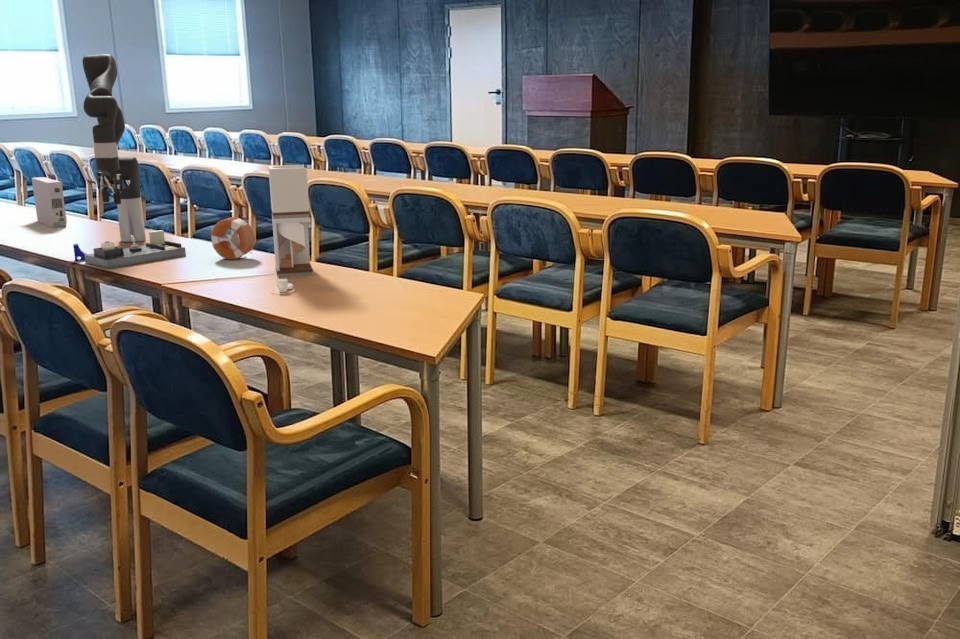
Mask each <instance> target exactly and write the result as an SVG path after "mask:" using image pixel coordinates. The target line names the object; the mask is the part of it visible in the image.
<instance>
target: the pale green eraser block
mask: <svg viewBox="0 0 960 639" xmlns="http://www.w3.org/2000/svg"><path fill="white" fill-rule="evenodd" d="M148 234H149V243H151V244H156V245H161V244H165V241H166V240H165V231H164V230H162V229H160V230H154V231H148Z"/></svg>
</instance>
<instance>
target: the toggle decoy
mask: <svg viewBox="0 0 960 639" xmlns="http://www.w3.org/2000/svg"><path fill="white" fill-rule="evenodd" d="M130 238H131V241H132V242H131V243H132V245H131V244H130V248H131V247H132V248H135V247H139V246H140V245H139V244H138V243H137V242H135V239H134V236H133V235H131V236H130Z"/></svg>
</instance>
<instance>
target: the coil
mask: <svg viewBox="0 0 960 639" xmlns="http://www.w3.org/2000/svg"><path fill="white" fill-rule="evenodd" d="M242 218H244V215H243V216H241V218H240V217H237V216H232V217H228V218H224V219H221V220H219V221H218V222H216V223H215V225H214V226H213V227H212V229H211V233H210V236H211V242H212V245H211V246H212V247H213V249H214V251H215V253H216V254H218V255H219V256H220V257H222V258H223V259H227V260H231V261H232V260H241V259H245V258H247V254H248V253H249V254H252V250H253V249H254V247H255V244H256V242H255V241H256V240H255V239H256V236H255V232H254V230H253V228H252V226H251V224H250V223H248V222H250V220H246V221H245V220H244V219H242ZM229 229H230V234H227V233H228V230H229ZM244 255H245V256H244ZM243 256H244V257H243Z"/></svg>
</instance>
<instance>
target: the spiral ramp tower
mask: <svg viewBox="0 0 960 639" xmlns="http://www.w3.org/2000/svg"><path fill="white" fill-rule="evenodd" d="M268 178H269V179H268V180H269V192H270V193H269V194H270V207H271V208H270V209H271V221H272V233H273V234H272V235H273V247H274V262H275V263H274V264H275V273H276V276H277V278H278V277H279V278H291V277H290V276H295V277H306V276H305V275H310V276H314V270H313V269H314V268H313V267H312V265H311V257H310V242H309V241H310V240H309V225H308V224H309V223H310V222H311V220H310V219H311V217H310V204H309V203H310V201H309V185H308V168H307V167H305V164H290V165H288V164H287V165H268ZM308 222H309V223H308Z"/></svg>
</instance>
